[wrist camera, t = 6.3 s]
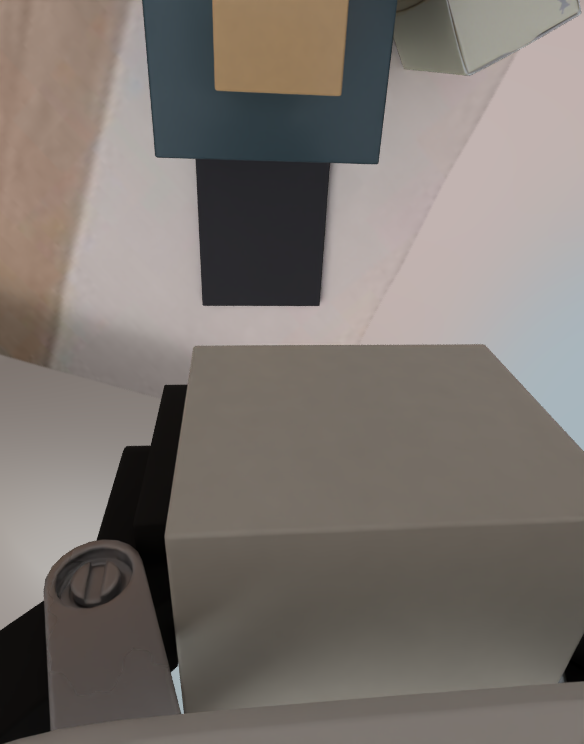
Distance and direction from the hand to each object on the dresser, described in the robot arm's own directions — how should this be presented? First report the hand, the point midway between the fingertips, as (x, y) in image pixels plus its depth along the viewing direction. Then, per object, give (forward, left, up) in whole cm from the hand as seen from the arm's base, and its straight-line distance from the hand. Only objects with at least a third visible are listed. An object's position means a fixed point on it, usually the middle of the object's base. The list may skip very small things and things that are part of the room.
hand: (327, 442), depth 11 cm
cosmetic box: (-11, +12, -33) cm, 36 cm away
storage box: (-9, 0, -33) cm, 34 cm away
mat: (+4, 0, -33) cm, 33 cm away
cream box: (0, 0, +1) cm, 1 cm away
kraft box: (-9, 0, -17) cm, 19 cm away
